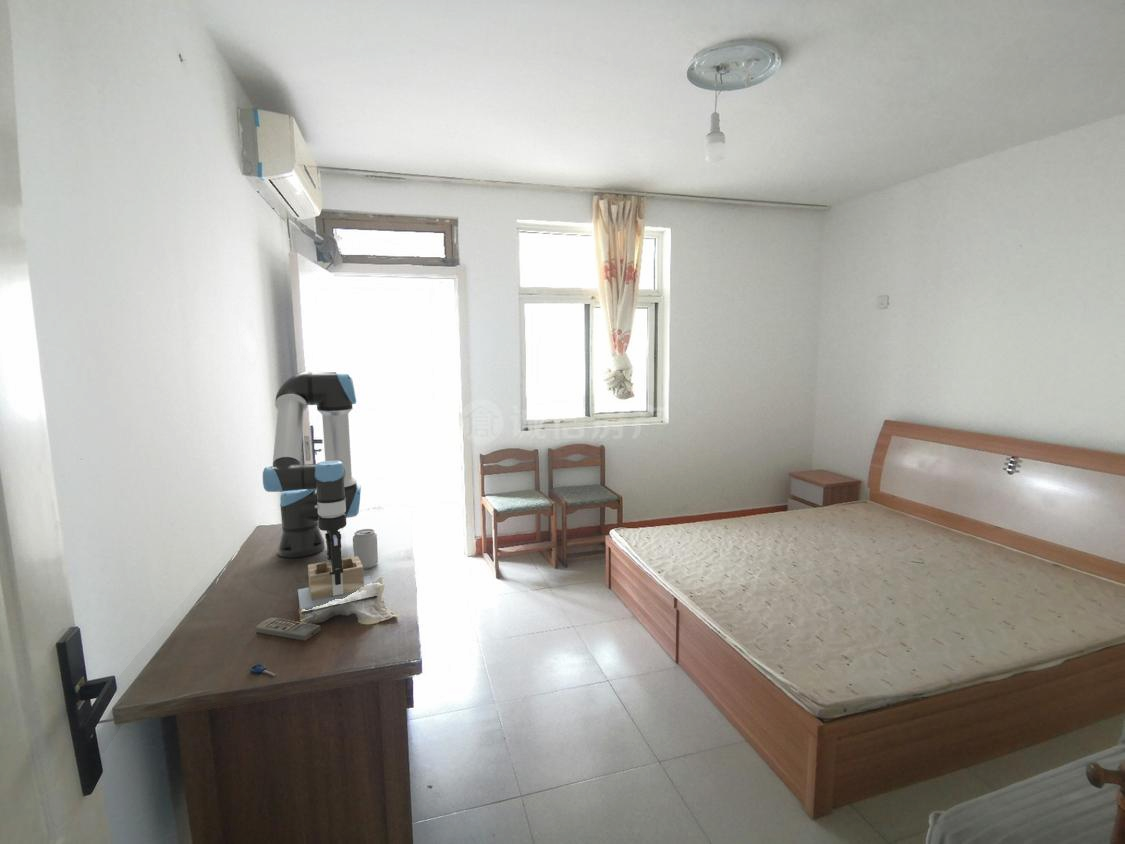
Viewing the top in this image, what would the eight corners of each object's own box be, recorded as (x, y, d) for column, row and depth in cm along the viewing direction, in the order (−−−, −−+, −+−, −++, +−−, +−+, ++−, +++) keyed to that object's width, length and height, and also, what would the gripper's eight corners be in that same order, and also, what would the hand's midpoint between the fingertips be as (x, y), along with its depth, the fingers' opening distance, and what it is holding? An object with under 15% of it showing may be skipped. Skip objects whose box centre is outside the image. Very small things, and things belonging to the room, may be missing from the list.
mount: (297, 593, 153) (297, 579, 153) (369, 579, 163) (368, 566, 163) (300, 613, 141) (299, 598, 141) (377, 596, 151) (376, 582, 150)
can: (370, 571, 170) (368, 535, 168) (349, 569, 171) (347, 534, 170) (382, 562, 177) (380, 528, 175) (362, 560, 178) (360, 527, 177)
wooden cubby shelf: (309, 587, 155) (307, 564, 154) (359, 577, 161) (357, 555, 161) (311, 600, 146) (310, 576, 145) (364, 589, 153) (363, 566, 152)
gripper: (314, 506, 159) (319, 576, 162) (321, 526, 139) (325, 605, 142) (341, 503, 163) (344, 571, 165) (351, 522, 143) (355, 599, 146)
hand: (336, 587), depth 154 cm, fingers open, 10 cm apart
